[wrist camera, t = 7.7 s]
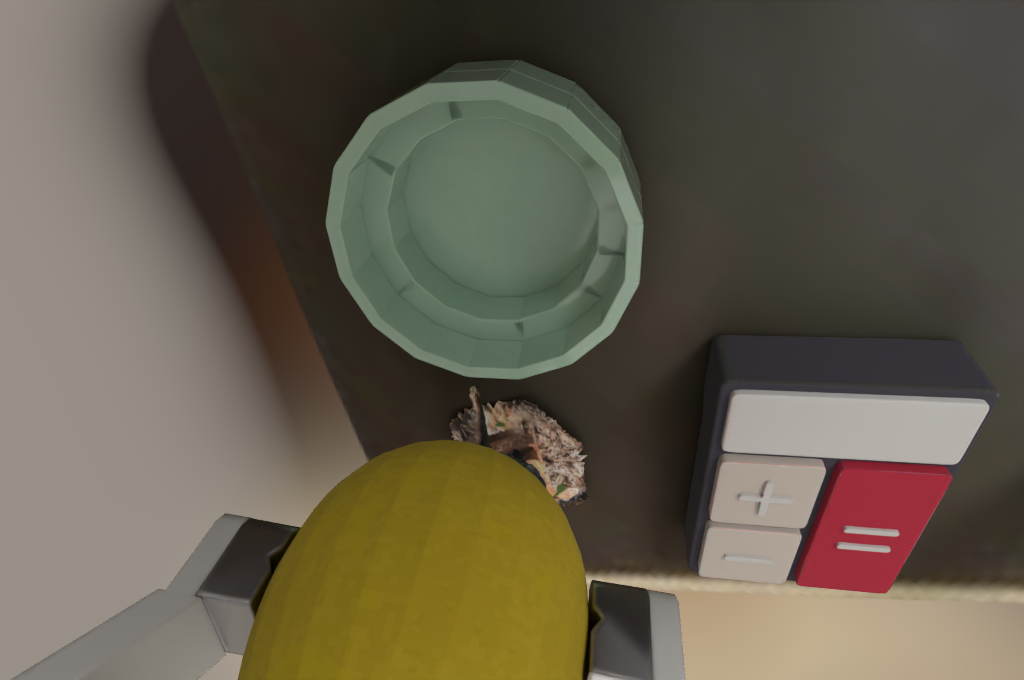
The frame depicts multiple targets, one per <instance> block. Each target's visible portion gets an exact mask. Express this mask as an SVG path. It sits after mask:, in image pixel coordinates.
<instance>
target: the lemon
mask: <svg viewBox="0 0 1024 680" xmlns="http://www.w3.org/2000/svg"><path fill="white" fill-rule="evenodd" d="M587 597H588V596H587V584H586V577H585V570H584V566H583V562H582V557H581V553H580V550H579V548H578V545H577V542H576V540H575V537H574V535H573V532H572V530H571V528H570V525H569V523H568V521H567V518H566V516H565V514H564V512H563V511H562V509H561V507H560V505H559V504H558V502H557V501H556V500H555V499H554V498H553V496H552V495H551V494H550V493H549V491H548V490H547V489H546V488H545V487H544V485H543V484H542V483H541V482H540V481H539V480H538V478H537V477H536V476H535V475H533V474H532V473H531V472H529V471H528V470H527V469H525V468H524V467H523V466H522V465H520V464H519V463H518V462H516V461H515V460H513V459H512V458H510V457H508V456H506V455H504V454H502V453H500V452H498V451H496V450H494V449H492V448H488V447H485V446H481V445H478V444H474V443H471V442H462V441H453V440H436V441H425V442H416V443H413V444H410V445H406V446H403V447H400V448H397V449H394V450H392V451H389V452H386V453H383V454H381V455H379V456H377V457H375V458H374V459H372V460H370V461H369V462H367V463H366V464H364V465H363V466H362V467H360V468H359V469H357V470H356V471H355V472H353V473H352V474H350V475H349V476H348V477H346V478H345V479H344V480H342V481H341V482H340V483H338V484H337V486H335V487H334V488H333V489H332V490H331V491H330V492H329V493H328V494H327V495H326V496H325V497H324V498H323V500H322V501H321V502H320V503H319V504H318V506H317V507H316V508H315V509H314V510H313V512H312V513H311V515H310V516H309V517H308V519H307V520H306V522H305V523H304V524H303V526H302V527H301V529H300V530H299V532H298V533H297V535H296V536H295V538H294V540H293V541H292V543H291V544H290V546H289V547H288V549H287V551H286V552H285V554H284V556H283V557H282V559H281V561H280V562H279V564H278V566H277V568H276V570H275V572H274V574H273V576H272V578H271V580H270V582H269V584H268V586H267V589H266V591H265V594H264V596H263V598H262V601H261V603H260V605H259V608H258V611H257V614H256V617H255V620H254V622H253V625H252V628H251V631H250V634H249V638H248V641H247V645H246V648H245V652H244V655H243V659H242V664H241V668H240V672H239V677H238V680H584V676H585V667H586V655H587V644H588V598H587Z"/></svg>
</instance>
